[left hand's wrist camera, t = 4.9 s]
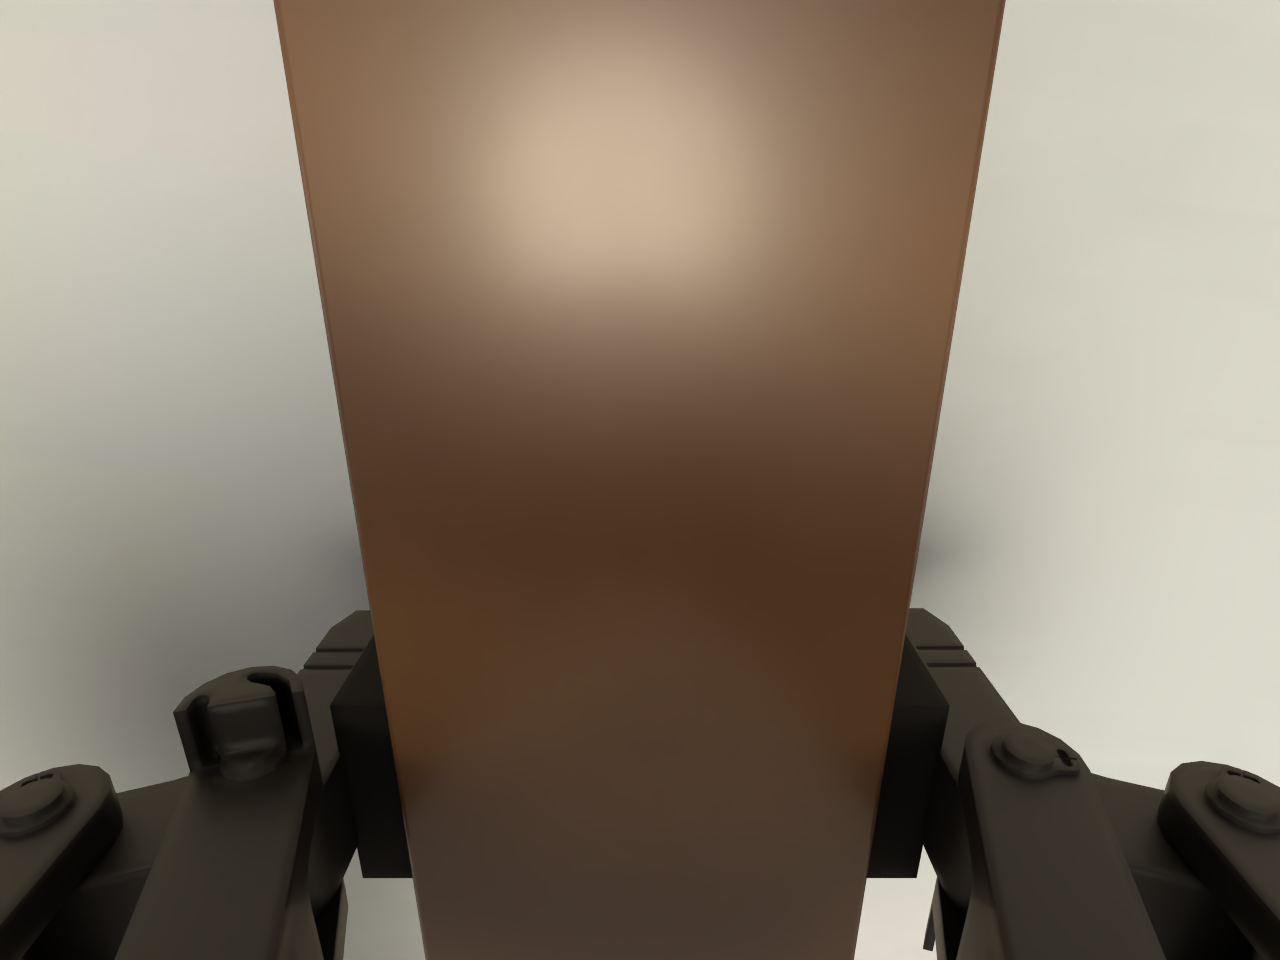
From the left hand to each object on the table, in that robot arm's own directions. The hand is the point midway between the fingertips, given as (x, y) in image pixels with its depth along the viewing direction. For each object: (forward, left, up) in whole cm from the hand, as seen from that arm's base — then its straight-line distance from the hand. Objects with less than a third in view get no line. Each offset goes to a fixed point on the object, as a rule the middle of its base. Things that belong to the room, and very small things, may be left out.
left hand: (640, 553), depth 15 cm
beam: (+14, +24, -1) cm, 28 cm away
